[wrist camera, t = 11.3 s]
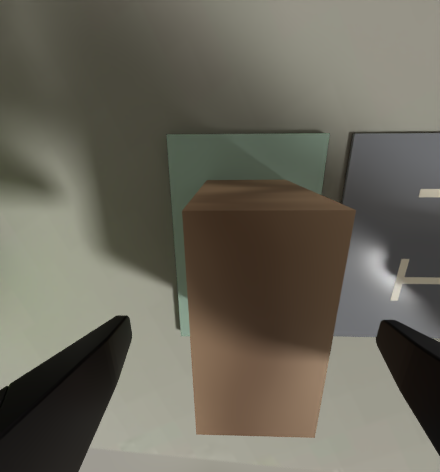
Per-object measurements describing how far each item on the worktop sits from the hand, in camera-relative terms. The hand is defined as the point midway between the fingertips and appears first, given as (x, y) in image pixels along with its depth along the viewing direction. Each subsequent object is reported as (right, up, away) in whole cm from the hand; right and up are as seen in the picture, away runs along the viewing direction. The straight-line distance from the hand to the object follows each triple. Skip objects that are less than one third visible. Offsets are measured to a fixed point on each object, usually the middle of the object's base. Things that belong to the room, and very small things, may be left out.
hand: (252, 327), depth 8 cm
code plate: (+12, +2, +7) cm, 14 cm away
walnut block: (0, +2, +7) cm, 7 cm away
